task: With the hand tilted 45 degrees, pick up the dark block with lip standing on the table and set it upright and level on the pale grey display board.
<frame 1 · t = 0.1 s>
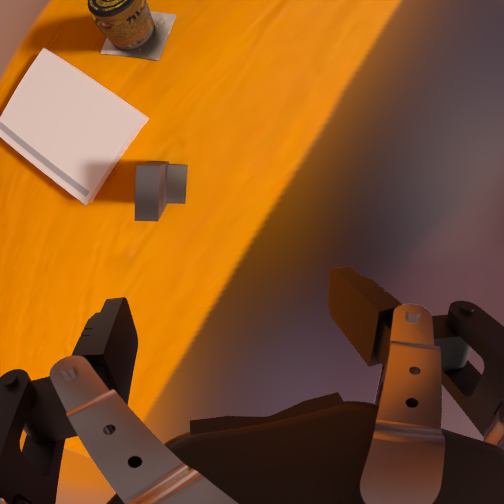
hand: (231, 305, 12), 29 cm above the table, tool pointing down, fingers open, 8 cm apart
display board: (68, 122, 32), on the table
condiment: (138, 33, 30), on the table
dark block with lip: (158, 182, 37), on the table
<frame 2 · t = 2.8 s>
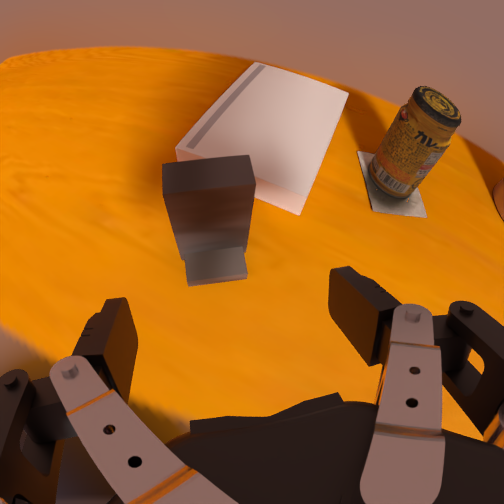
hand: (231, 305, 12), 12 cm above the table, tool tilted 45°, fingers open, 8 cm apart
display board: (272, 131, 33), on the table
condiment: (391, 185, 32), on the table
dark block with lip: (212, 243, 26), on the table
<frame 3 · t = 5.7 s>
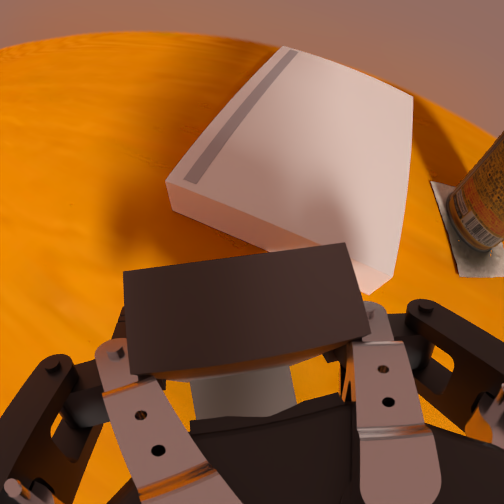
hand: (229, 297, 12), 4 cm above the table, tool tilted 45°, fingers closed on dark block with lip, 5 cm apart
display board: (315, 148, 22), on the table
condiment: (471, 231, 21), on the table
dark block with lip: (234, 352, 15), on the table, touching gripper
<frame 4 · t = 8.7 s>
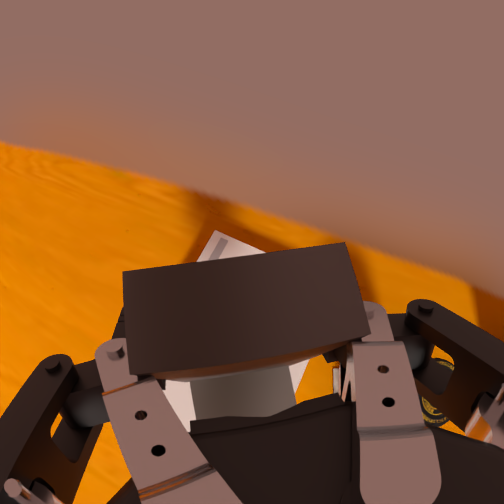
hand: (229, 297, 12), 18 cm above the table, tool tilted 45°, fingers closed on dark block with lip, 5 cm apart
display board: (232, 351, 28), on the table
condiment: (365, 405, 27), on the table
dark block with lip: (234, 352, 15), point 13 cm above the table, touching gripper
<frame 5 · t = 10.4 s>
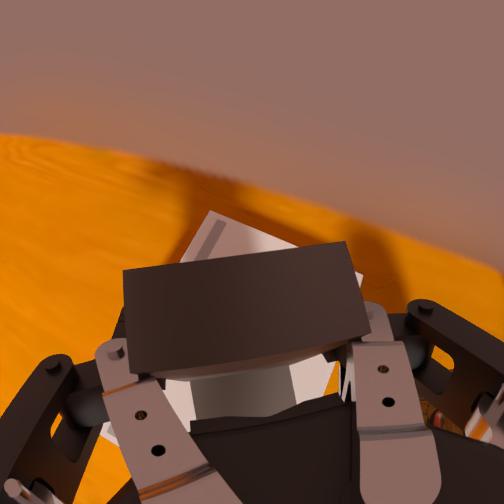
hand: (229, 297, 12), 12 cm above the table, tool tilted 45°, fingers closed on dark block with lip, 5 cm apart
display board: (233, 362, 22), on the table
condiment: (396, 420, 21), on the table
dark block with lip: (234, 352, 15), point 8 cm above the table, touching gripper
when the fingers open (9 cm above the table, at t = 11.7 s): dark block with lip drops 1 cm, resting on display board.
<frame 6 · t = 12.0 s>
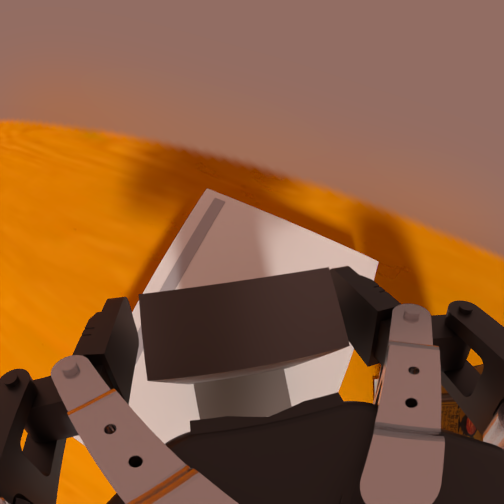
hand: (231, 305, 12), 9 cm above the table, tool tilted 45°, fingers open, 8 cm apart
display board: (232, 360, 19), on the table
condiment: (413, 424, 18), on the table
dark block with lip: (234, 357, 17), point 3 cm above the table, touching display board
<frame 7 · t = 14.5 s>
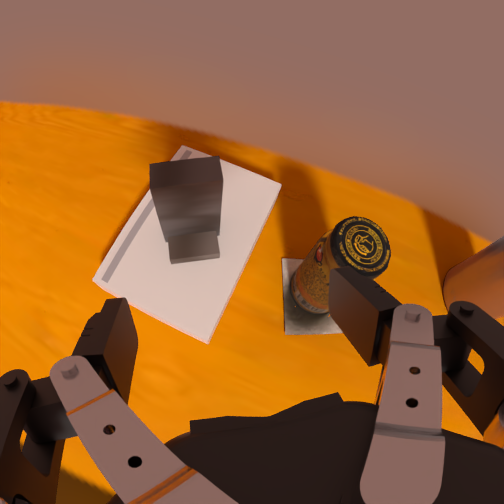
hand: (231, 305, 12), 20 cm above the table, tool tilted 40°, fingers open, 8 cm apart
display board: (192, 240, 34), on the table
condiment: (314, 296, 33), on the table
dark block with lip: (191, 228, 31), point 3 cm above the table, touching display board
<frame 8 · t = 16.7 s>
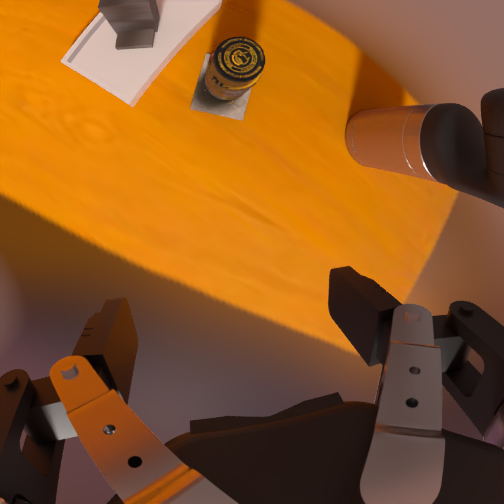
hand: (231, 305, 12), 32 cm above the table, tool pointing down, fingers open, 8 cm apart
display board: (141, 32, 32), on the table
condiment: (224, 86, 37), on the table
dark block with lip: (138, 25, 29), point 3 cm above the table, touching display board
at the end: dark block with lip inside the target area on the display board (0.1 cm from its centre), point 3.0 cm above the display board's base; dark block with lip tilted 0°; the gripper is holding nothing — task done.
